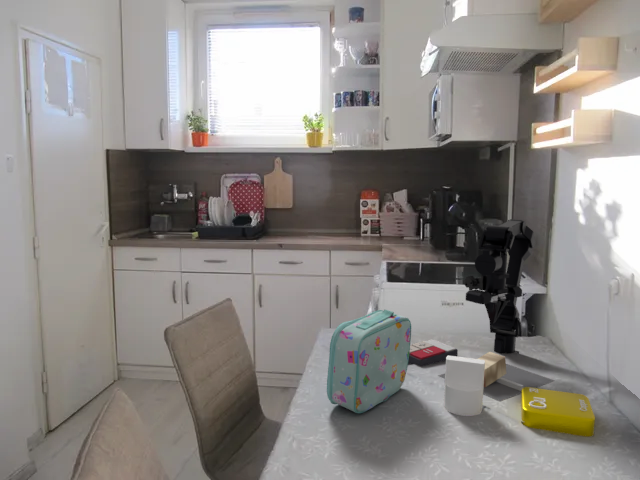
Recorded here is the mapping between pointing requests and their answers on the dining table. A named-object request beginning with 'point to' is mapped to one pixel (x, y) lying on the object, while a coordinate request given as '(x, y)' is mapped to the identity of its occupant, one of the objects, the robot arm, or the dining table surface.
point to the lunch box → (368, 360)
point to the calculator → (430, 352)
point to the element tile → (557, 411)
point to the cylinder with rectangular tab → (464, 385)
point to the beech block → (493, 367)
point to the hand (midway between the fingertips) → (492, 322)
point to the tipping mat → (512, 383)
